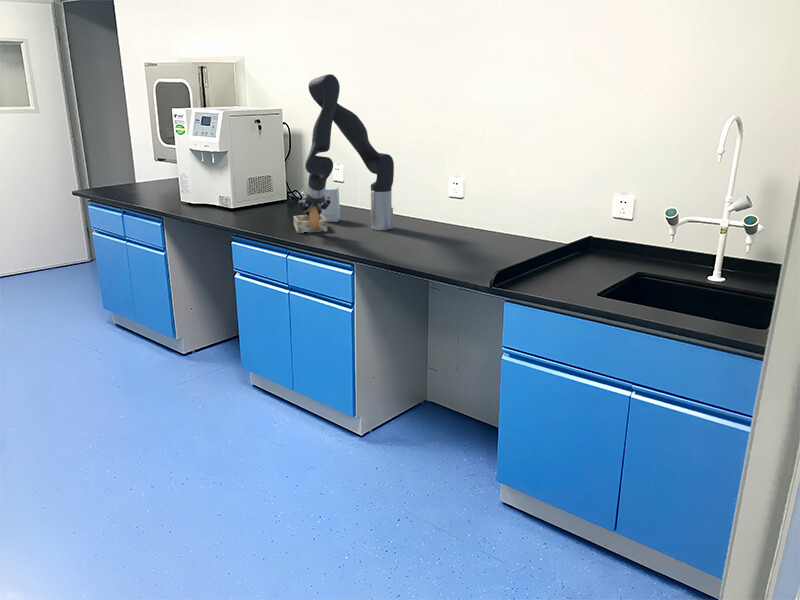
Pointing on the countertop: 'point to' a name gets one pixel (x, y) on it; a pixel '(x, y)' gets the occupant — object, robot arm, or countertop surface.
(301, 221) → the box
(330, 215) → the skincare box
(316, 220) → the peg
